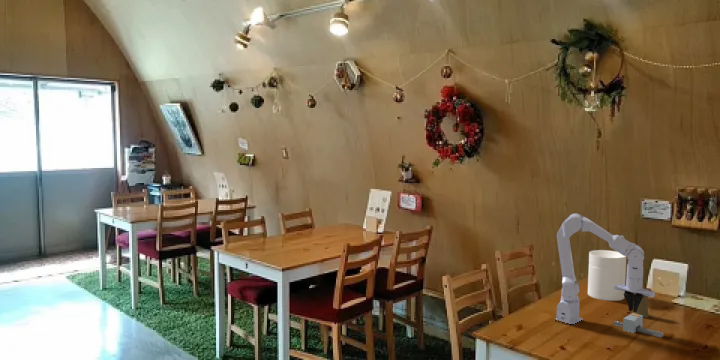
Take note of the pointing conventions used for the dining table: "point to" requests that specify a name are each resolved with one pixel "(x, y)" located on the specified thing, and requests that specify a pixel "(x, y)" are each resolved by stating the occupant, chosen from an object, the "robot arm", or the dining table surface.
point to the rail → (641, 329)
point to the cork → (643, 308)
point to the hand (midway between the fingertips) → (633, 311)
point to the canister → (606, 274)
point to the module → (632, 322)
